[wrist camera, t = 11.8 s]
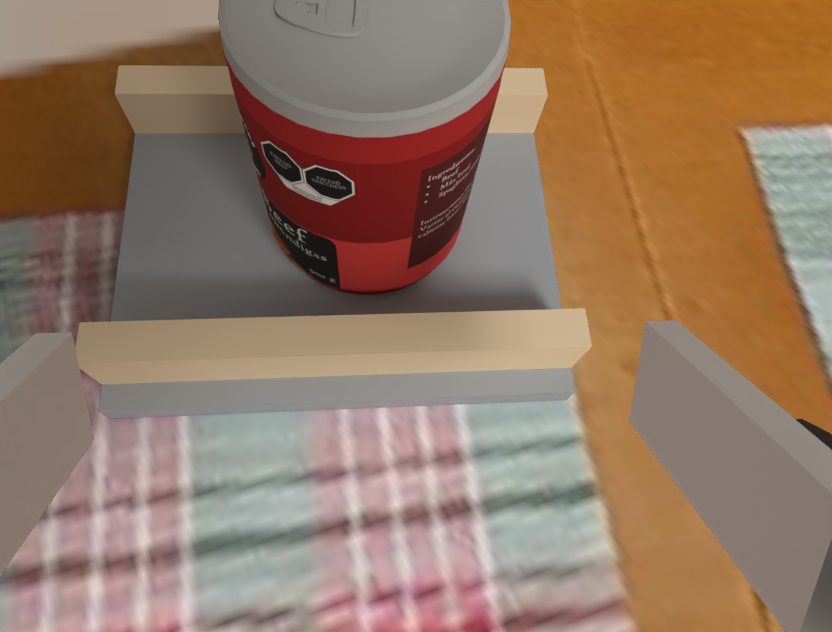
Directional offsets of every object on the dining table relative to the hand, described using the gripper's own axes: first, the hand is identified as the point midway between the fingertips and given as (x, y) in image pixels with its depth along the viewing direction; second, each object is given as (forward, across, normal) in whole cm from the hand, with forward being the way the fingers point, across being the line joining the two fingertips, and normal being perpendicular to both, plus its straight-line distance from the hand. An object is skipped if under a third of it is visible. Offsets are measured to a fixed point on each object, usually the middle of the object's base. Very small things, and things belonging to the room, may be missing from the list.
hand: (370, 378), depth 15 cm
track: (+14, -1, -1) cm, 14 cm away
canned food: (+14, 0, 0) cm, 14 cm away
